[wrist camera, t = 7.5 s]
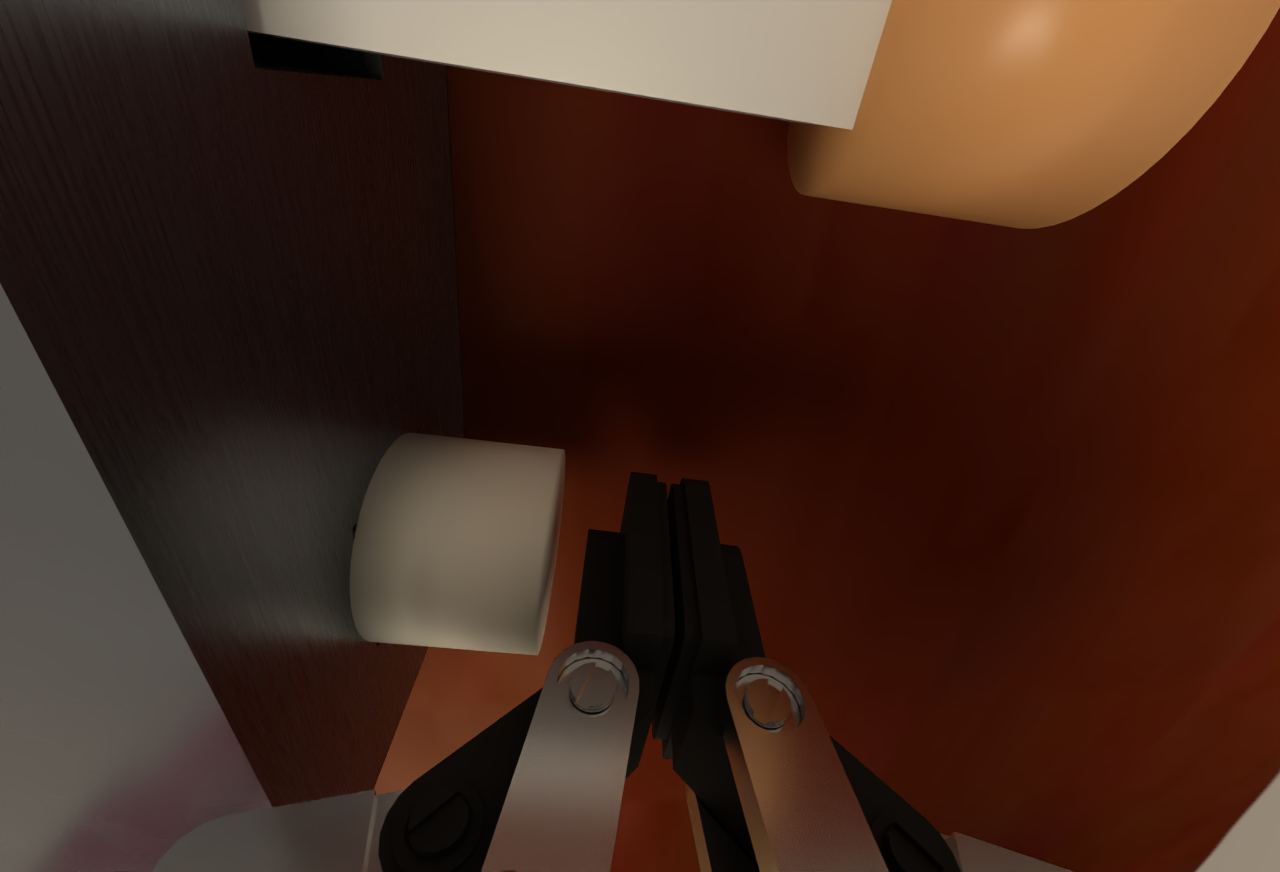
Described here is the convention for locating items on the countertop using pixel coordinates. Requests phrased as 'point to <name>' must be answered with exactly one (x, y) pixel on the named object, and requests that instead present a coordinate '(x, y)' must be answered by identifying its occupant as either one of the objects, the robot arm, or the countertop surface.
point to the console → (202, 412)
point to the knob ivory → (458, 544)
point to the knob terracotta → (862, 80)
